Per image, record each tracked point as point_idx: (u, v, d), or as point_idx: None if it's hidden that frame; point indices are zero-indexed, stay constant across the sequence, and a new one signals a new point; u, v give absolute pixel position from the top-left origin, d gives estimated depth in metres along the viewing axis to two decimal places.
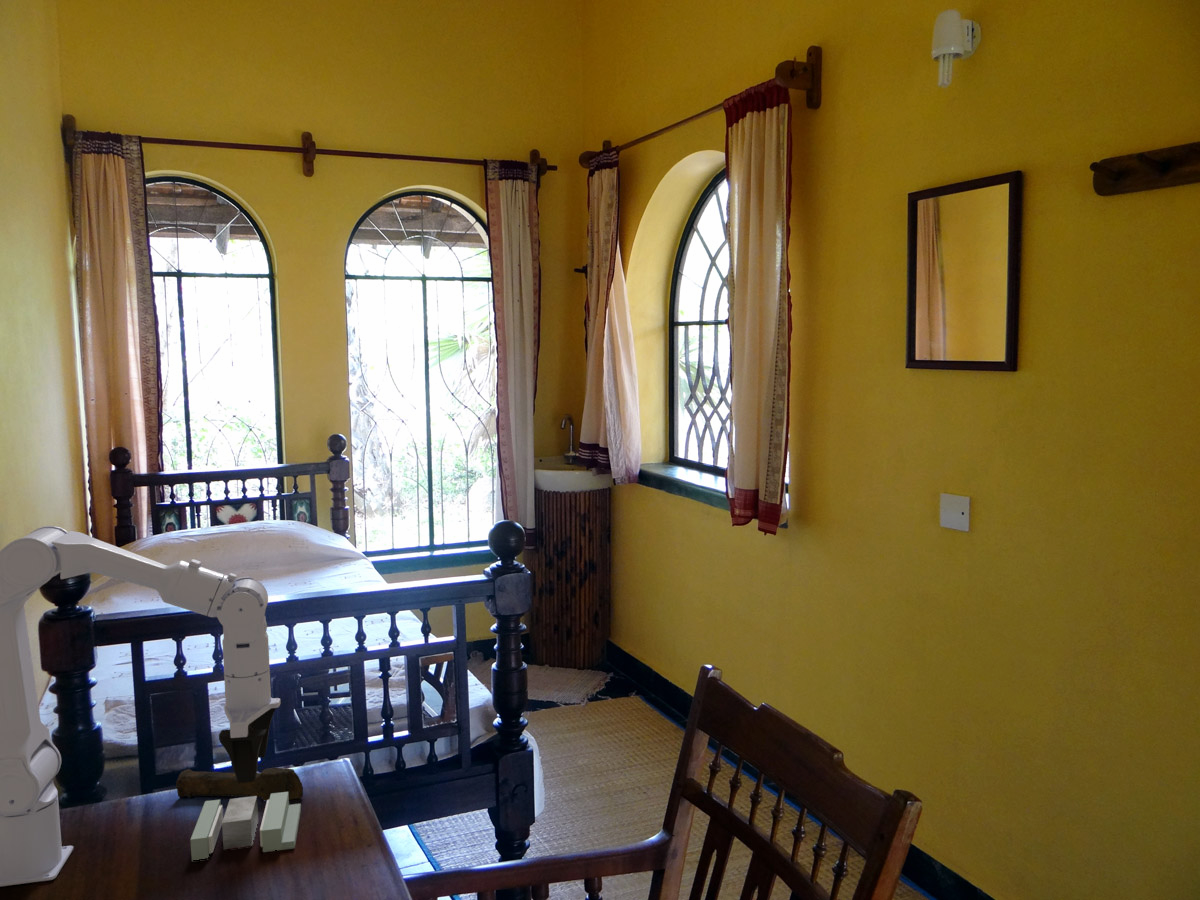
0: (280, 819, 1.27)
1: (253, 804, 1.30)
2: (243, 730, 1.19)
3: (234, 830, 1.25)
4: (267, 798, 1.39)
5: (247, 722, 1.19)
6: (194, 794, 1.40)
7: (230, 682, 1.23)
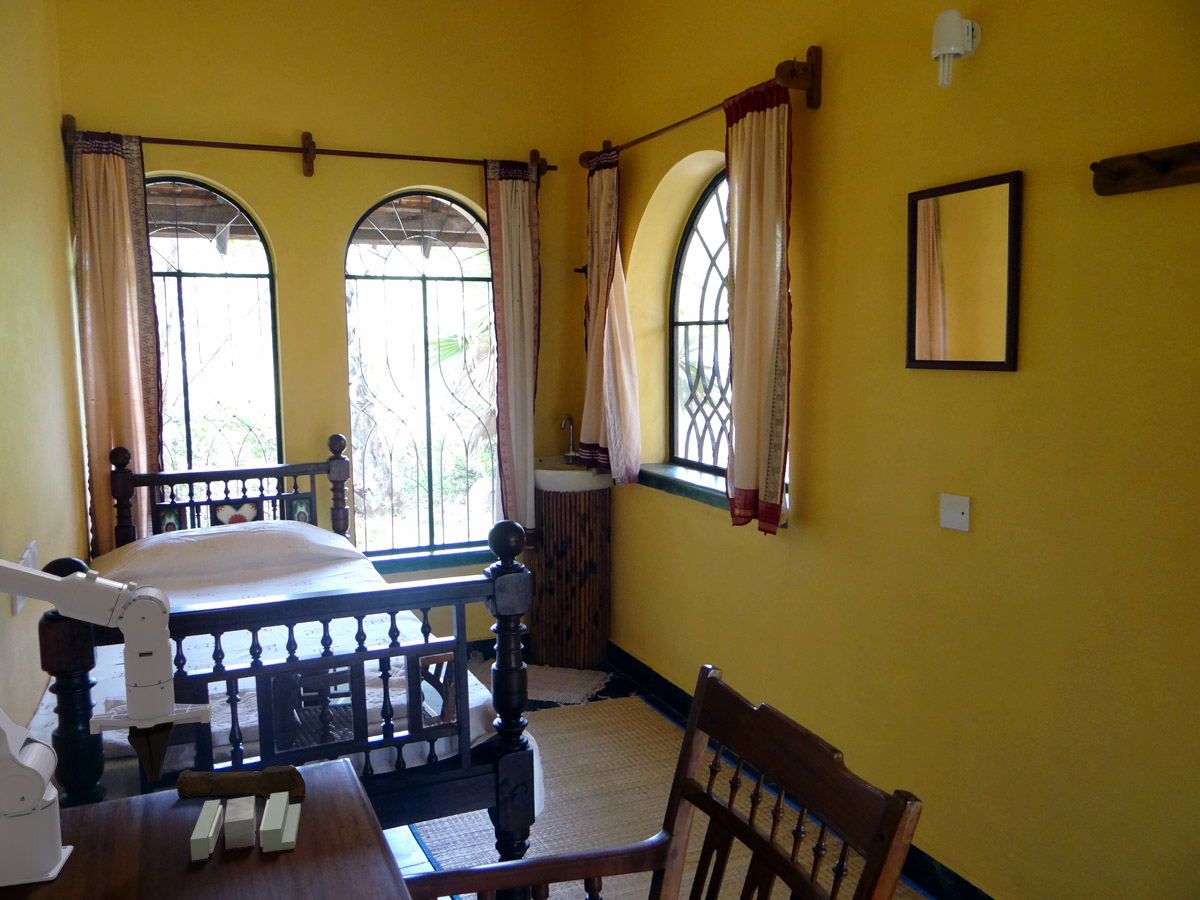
0: (280, 819, 1.27)
1: (253, 804, 1.30)
2: None
3: (237, 830, 1.25)
4: None
5: (94, 721, 1.22)
6: (195, 794, 1.40)
7: None
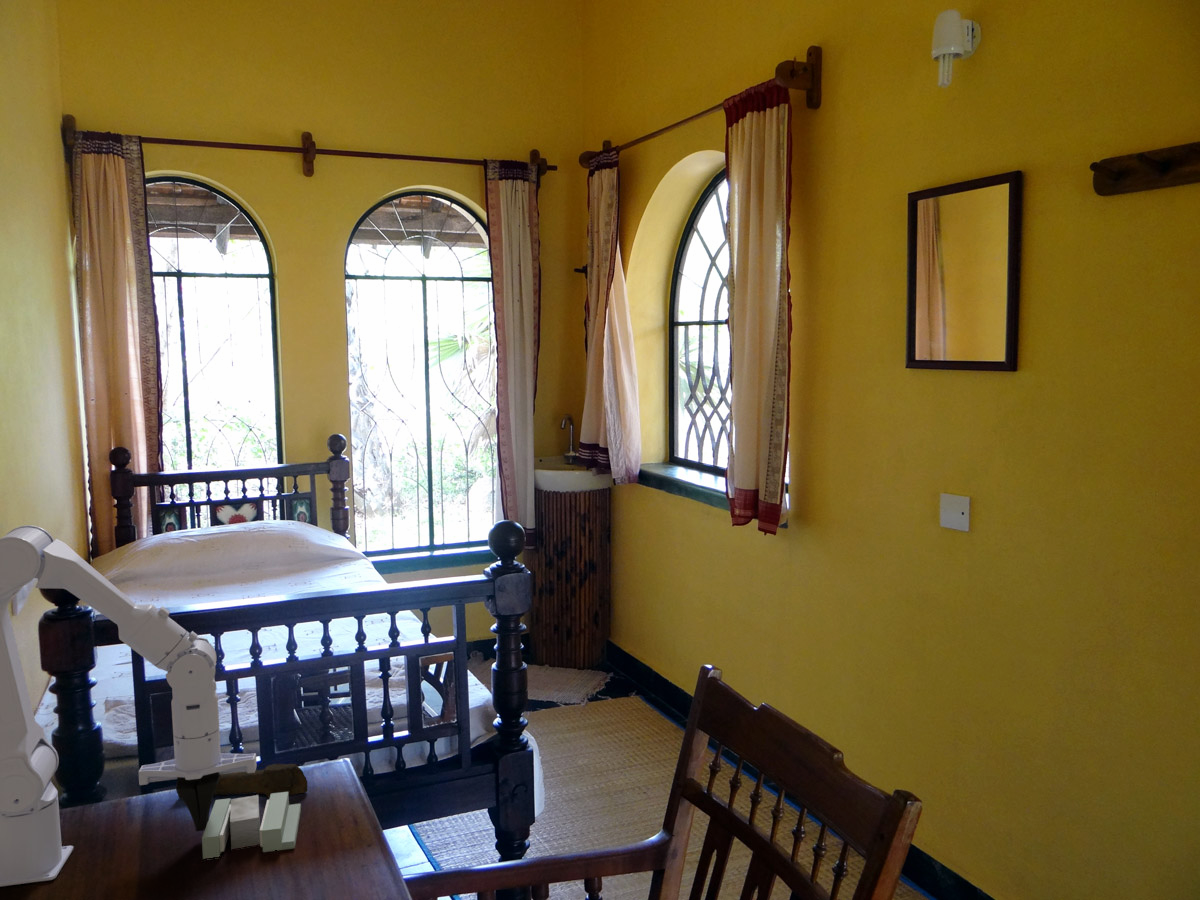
0: (280, 819, 1.27)
1: (257, 803, 1.30)
2: None
3: (242, 829, 1.25)
4: None
5: (143, 772, 1.24)
6: None
7: None
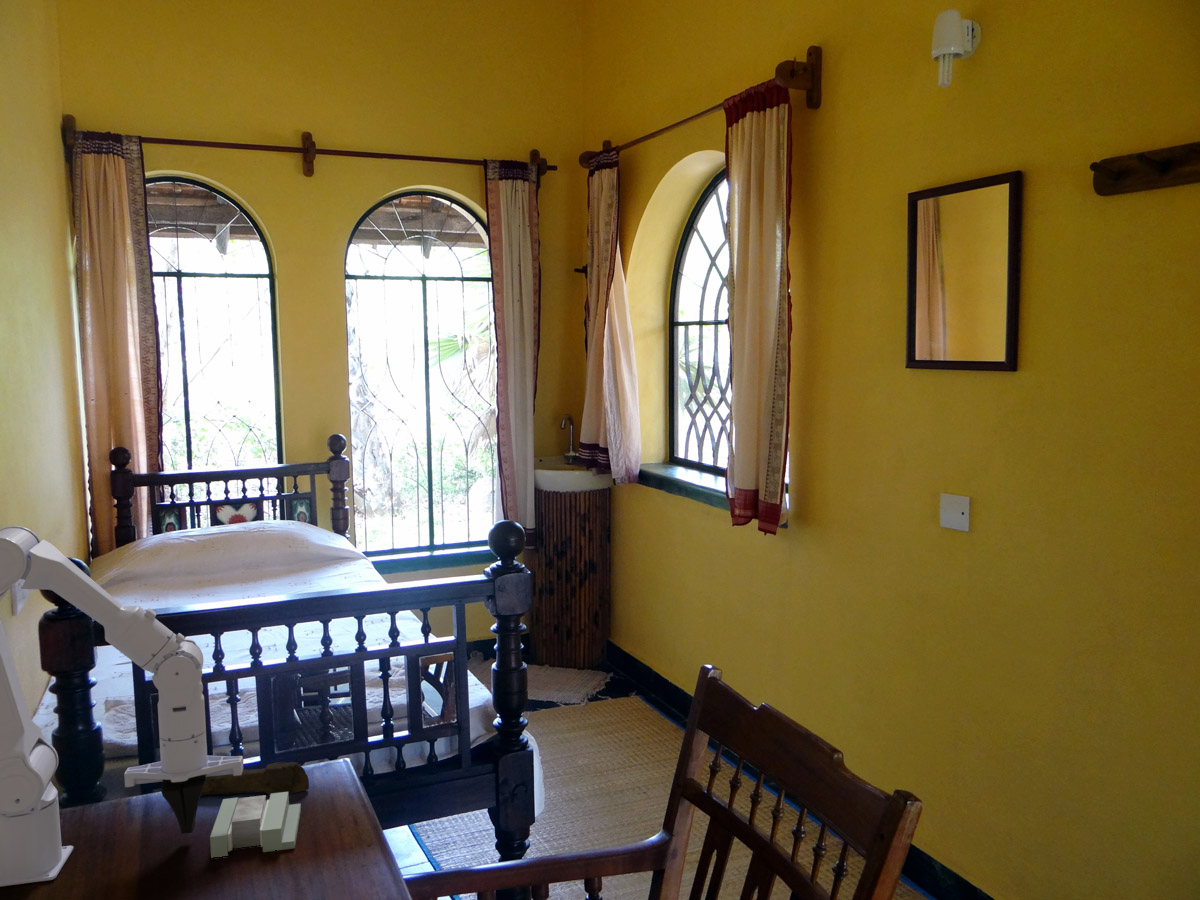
0: (280, 819, 1.27)
1: (262, 803, 1.30)
2: None
3: (244, 830, 1.25)
4: (273, 792, 1.41)
5: (128, 775, 1.24)
6: None
7: None
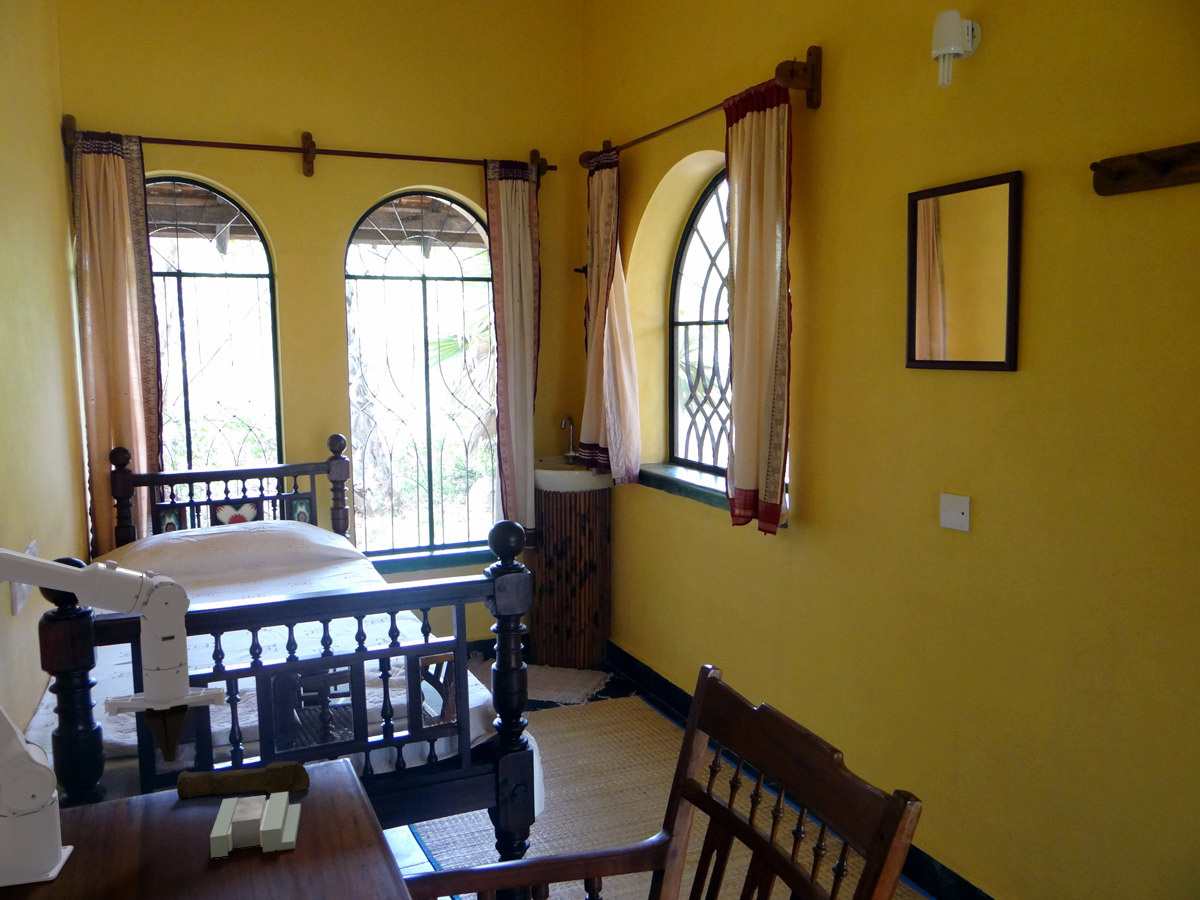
0: (280, 819, 1.27)
1: (262, 803, 1.30)
2: None
3: (244, 830, 1.25)
4: (274, 791, 1.41)
5: (112, 703, 1.27)
6: (195, 794, 1.40)
7: None
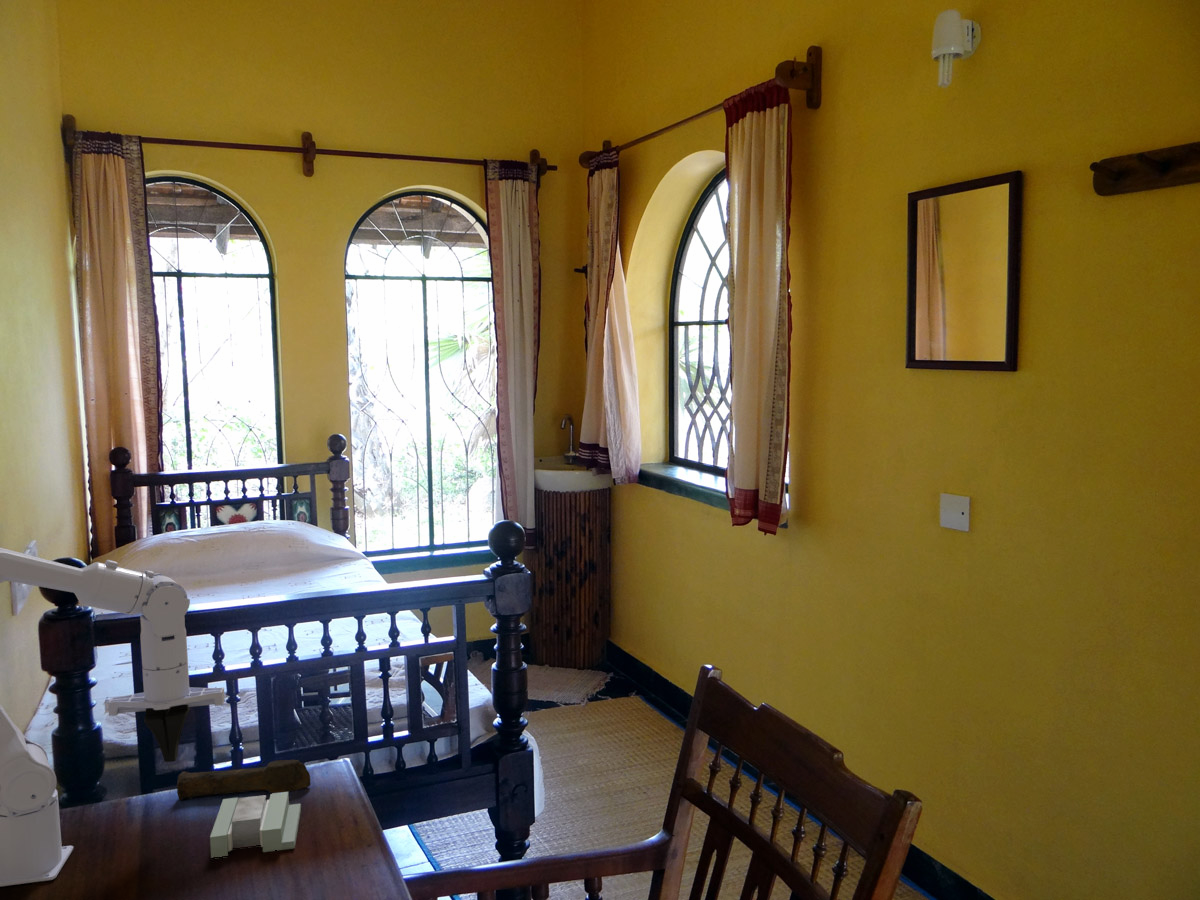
0: (280, 819, 1.27)
1: (262, 803, 1.30)
2: None
3: (244, 829, 1.25)
4: (275, 790, 1.41)
5: (112, 703, 1.27)
6: (195, 795, 1.40)
7: None
